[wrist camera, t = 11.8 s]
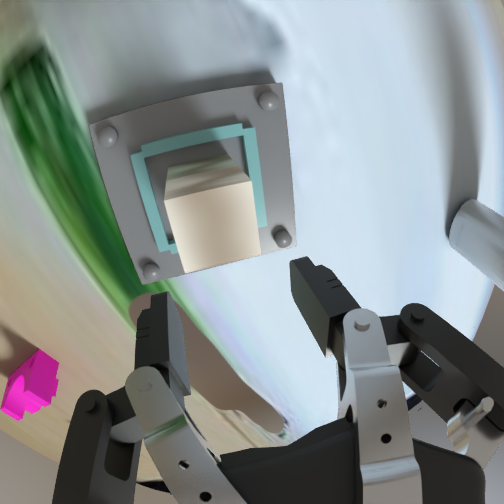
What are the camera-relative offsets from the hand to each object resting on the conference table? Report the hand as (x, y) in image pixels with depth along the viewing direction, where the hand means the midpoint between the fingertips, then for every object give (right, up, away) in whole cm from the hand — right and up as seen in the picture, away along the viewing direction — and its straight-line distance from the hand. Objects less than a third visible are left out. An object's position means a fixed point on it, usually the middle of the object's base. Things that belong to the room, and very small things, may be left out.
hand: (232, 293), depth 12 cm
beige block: (-3, +7, +11) cm, 14 cm away
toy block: (-34, -18, +20) cm, 43 cm away
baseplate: (-4, +8, +13) cm, 15 cm away
